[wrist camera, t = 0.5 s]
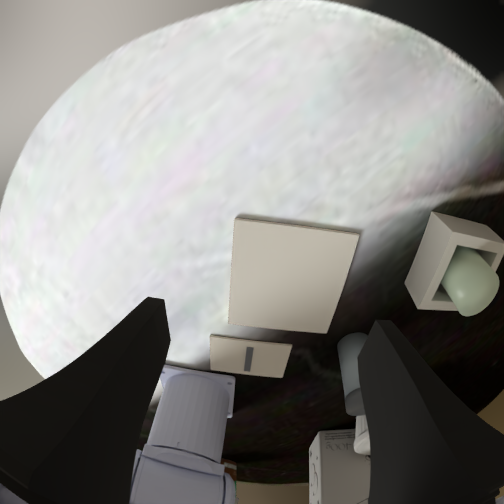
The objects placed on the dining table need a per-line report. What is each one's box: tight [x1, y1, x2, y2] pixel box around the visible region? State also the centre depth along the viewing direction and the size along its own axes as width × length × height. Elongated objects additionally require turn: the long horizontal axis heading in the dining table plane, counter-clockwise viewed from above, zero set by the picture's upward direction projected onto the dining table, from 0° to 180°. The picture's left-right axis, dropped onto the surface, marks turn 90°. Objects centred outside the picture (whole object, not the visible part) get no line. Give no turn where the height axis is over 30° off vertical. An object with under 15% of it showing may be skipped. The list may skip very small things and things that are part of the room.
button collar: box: [404, 211, 504, 311], centre depth 17 cm, size 6×6×3 cm
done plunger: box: [441, 245, 499, 316], centre depth 15 cm, size 4×4×4 cm
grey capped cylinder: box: [337, 332, 368, 416], centre depth 20 cm, size 3×3×6 cm
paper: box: [228, 218, 359, 333], centre depth 20 cm, size 9×8×1 cm
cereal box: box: [309, 429, 371, 504], centre depth 24 cm, size 22×8×25 cm, turn 89°
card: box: [210, 335, 292, 378], centre depth 25 cm, size 5×7×1 cm
